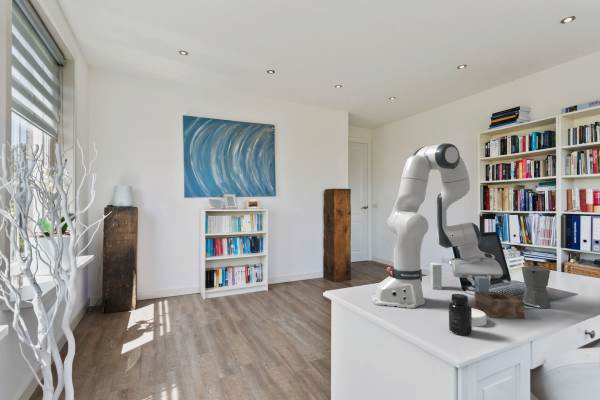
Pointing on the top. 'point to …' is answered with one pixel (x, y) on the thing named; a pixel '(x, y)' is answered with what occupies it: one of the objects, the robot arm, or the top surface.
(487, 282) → the square peg
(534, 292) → the coffeepot
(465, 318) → the supplement bottle
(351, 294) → the top surface
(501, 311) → the socket block
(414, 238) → the robot arm
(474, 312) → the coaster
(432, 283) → the skincare box
